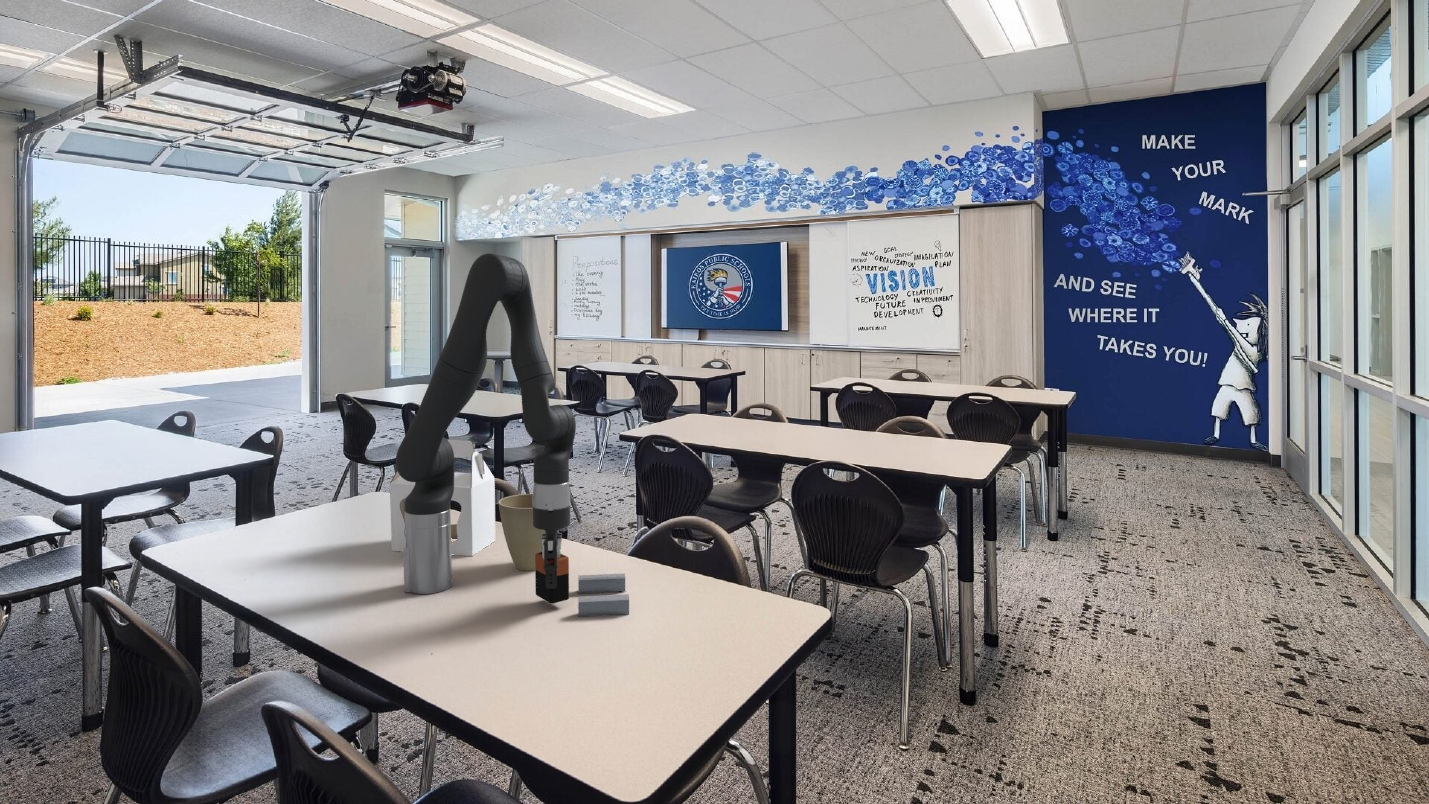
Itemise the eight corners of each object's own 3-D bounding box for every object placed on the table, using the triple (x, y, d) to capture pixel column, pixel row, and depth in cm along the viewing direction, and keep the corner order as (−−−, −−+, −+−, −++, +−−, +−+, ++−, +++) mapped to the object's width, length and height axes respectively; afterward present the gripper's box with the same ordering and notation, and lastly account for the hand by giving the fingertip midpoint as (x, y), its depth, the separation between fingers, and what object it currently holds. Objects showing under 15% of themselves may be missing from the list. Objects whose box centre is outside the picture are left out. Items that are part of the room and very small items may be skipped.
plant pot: (511, 580, 170) (510, 511, 168) (491, 562, 182) (490, 497, 181) (573, 569, 178) (573, 503, 176) (550, 553, 190) (549, 491, 189)
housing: (578, 616, 149) (578, 600, 149) (578, 590, 164) (578, 575, 164) (629, 614, 151) (629, 597, 151) (624, 588, 166) (624, 573, 165)
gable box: (496, 541, 199) (495, 437, 197) (473, 556, 186) (471, 445, 184) (418, 537, 203) (415, 434, 200) (390, 551, 190) (387, 441, 187)
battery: (550, 605, 151) (550, 556, 150) (534, 595, 156) (534, 548, 155) (569, 600, 154) (569, 552, 153) (553, 591, 159) (552, 544, 158)
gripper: (534, 495, 160) (535, 570, 161) (530, 512, 146) (531, 594, 147) (570, 495, 161) (571, 569, 163) (569, 511, 147) (570, 592, 149)
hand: (552, 581), depth 155 cm, fingers closed on battery, 8 cm apart
